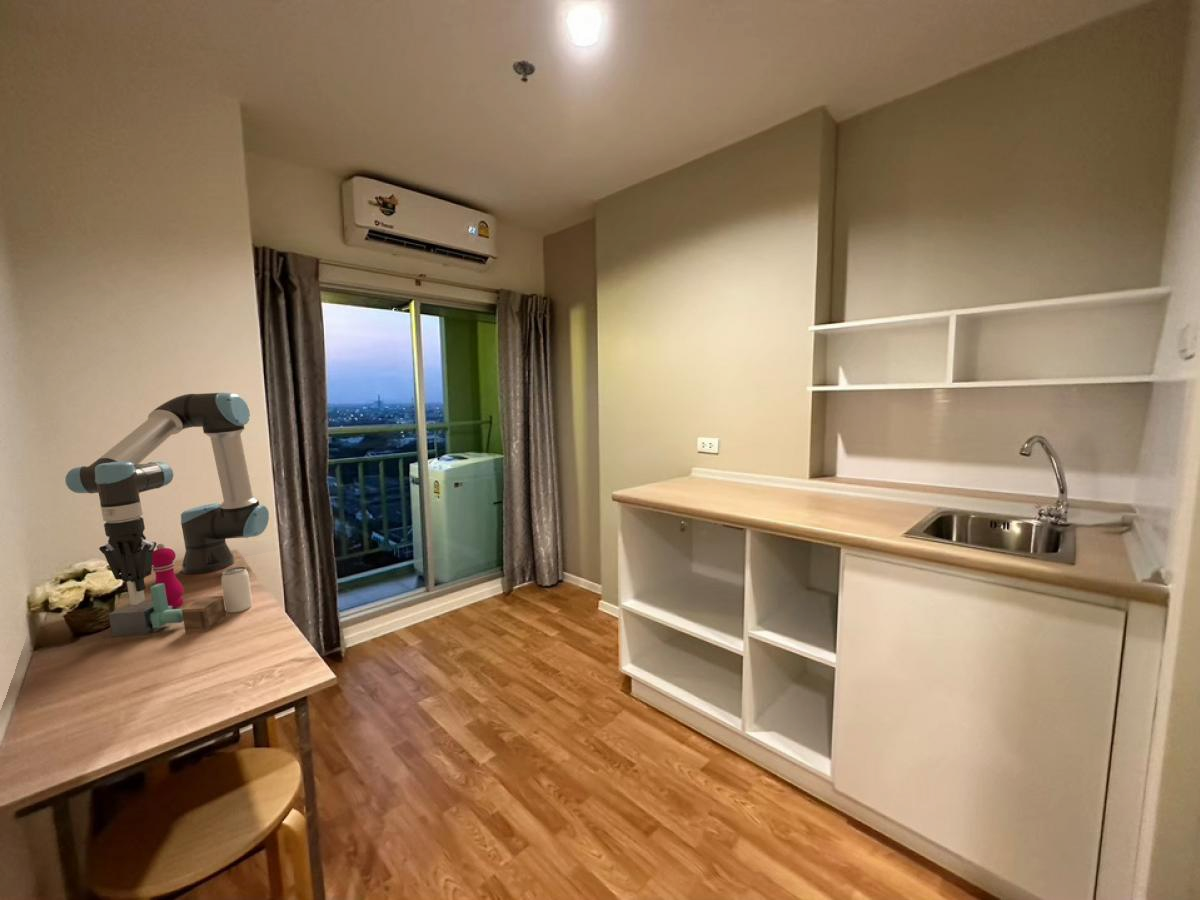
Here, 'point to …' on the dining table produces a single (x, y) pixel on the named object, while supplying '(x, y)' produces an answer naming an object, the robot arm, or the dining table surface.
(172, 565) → the pepper mill
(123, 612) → the gray block
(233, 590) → the can
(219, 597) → the socket
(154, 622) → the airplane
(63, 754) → the dining table surface
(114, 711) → the dining table surface
